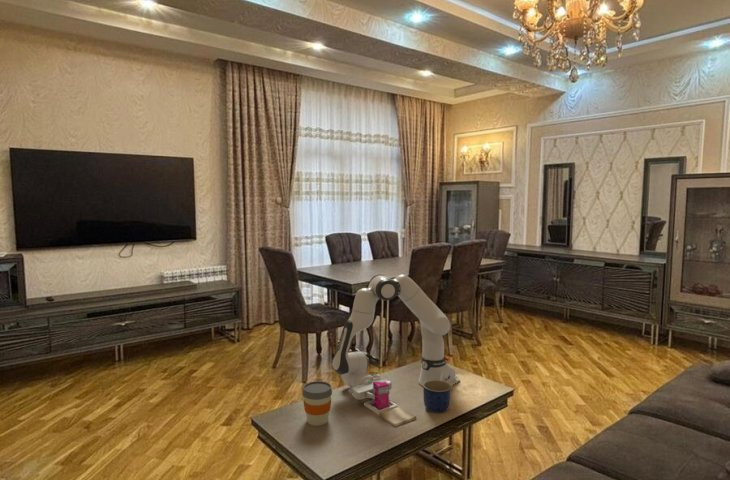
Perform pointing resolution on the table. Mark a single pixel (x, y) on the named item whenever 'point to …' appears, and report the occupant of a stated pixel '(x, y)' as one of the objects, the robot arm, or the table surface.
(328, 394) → the reusable coffee cup
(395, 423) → the board
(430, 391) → the planter
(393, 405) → the square tray
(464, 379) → the table surface
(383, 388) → the supplement box
